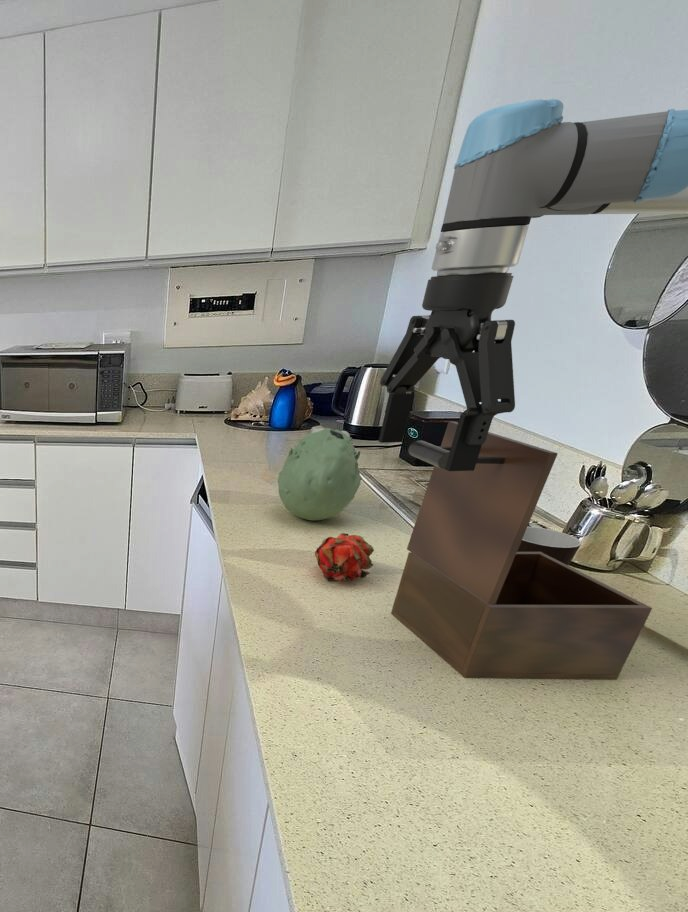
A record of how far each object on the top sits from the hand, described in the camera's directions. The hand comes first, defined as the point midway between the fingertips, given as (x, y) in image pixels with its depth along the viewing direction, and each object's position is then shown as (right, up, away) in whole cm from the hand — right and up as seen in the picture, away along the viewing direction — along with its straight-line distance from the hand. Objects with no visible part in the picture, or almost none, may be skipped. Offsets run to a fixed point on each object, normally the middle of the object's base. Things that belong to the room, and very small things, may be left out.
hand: (421, 455), depth 74 cm
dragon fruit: (+9, -18, +30) cm, 36 cm away
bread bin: (+18, -26, +10) cm, 33 cm away
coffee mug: (+34, -19, +24) cm, 46 cm away
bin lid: (+9, -7, +2) cm, 11 cm away
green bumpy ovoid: (+19, -6, +56) cm, 59 cm away
